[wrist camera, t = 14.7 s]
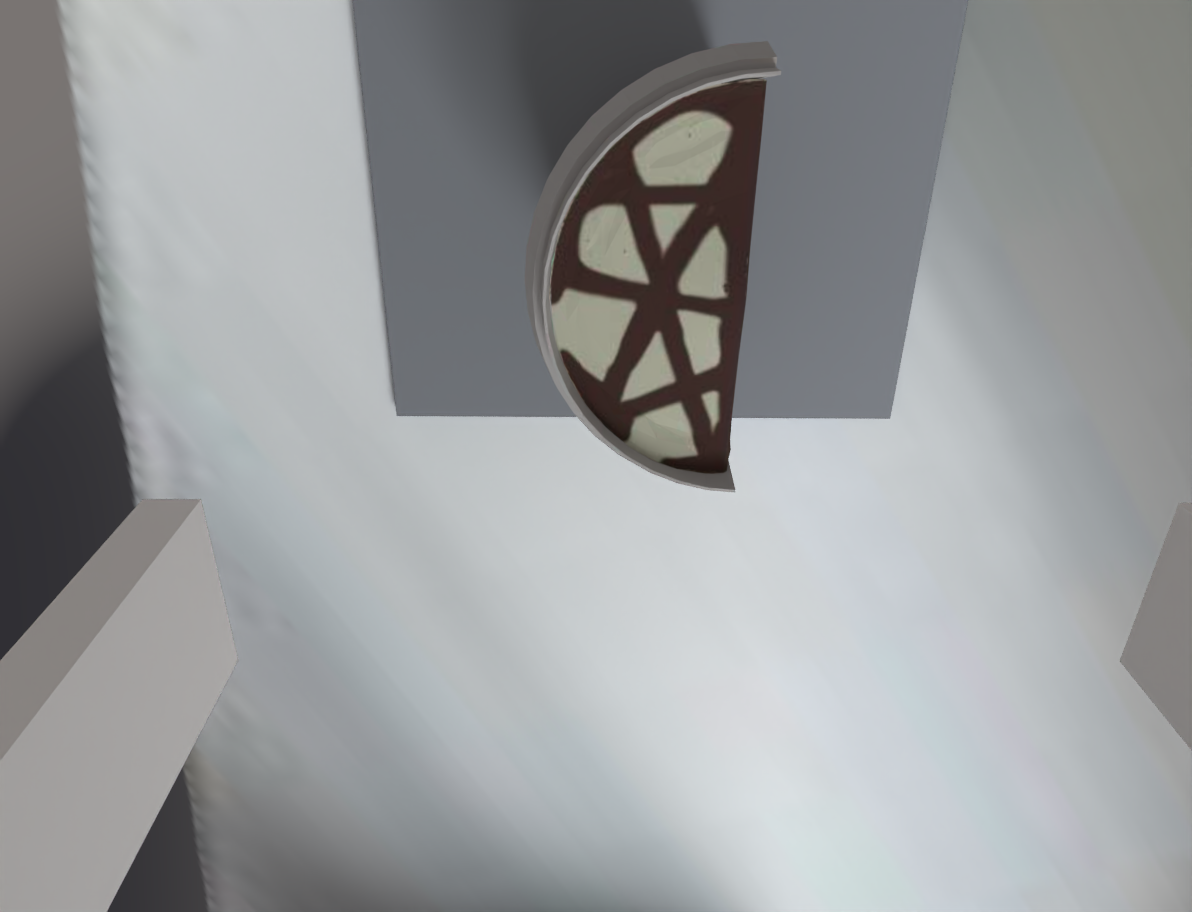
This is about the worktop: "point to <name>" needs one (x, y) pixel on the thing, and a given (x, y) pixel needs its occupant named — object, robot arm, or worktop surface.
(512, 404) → the mat
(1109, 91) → the worktop surface
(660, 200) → the food container
